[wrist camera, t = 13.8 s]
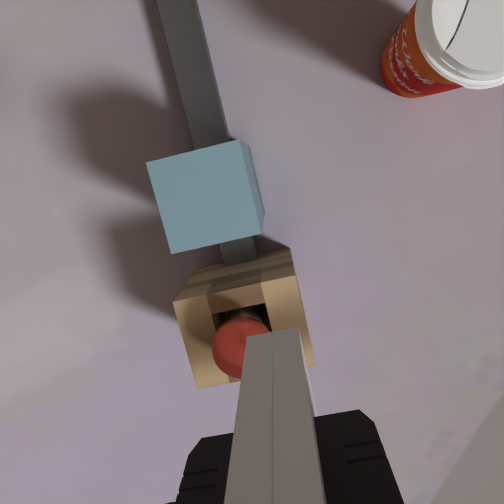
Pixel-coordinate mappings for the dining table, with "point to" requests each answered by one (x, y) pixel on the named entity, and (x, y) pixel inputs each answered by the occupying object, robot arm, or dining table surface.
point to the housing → (238, 296)
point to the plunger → (237, 338)
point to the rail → (199, 95)
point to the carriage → (207, 196)
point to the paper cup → (446, 48)
